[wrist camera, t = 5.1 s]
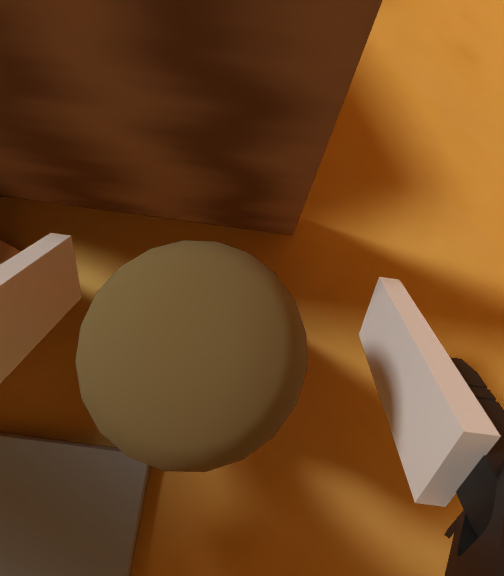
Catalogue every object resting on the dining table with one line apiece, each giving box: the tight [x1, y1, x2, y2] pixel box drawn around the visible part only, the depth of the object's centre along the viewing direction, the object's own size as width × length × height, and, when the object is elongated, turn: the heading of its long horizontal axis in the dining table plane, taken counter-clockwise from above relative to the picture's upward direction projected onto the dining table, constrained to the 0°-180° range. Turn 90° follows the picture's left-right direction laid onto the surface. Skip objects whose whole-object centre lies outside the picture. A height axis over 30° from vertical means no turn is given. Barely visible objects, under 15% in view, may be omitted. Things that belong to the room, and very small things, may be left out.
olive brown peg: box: [75, 240, 307, 472], centre depth 12 cm, size 6×6×11 cm
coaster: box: [0, 433, 150, 576], centre depth 14 cm, size 9×9×1 cm
